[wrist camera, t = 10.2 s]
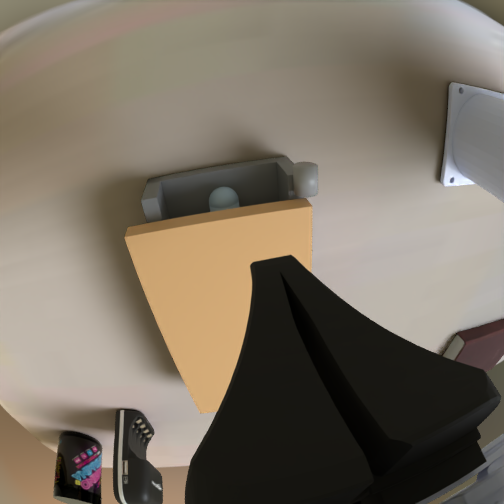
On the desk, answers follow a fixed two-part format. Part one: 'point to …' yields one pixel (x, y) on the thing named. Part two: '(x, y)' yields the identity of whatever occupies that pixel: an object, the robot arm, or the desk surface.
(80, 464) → the supplement container
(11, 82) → the desk surface
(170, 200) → the grey tray with rod
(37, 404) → the desk surface
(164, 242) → the cover
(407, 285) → the desk surface
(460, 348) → the book
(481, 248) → the desk surface
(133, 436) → the battery charger
